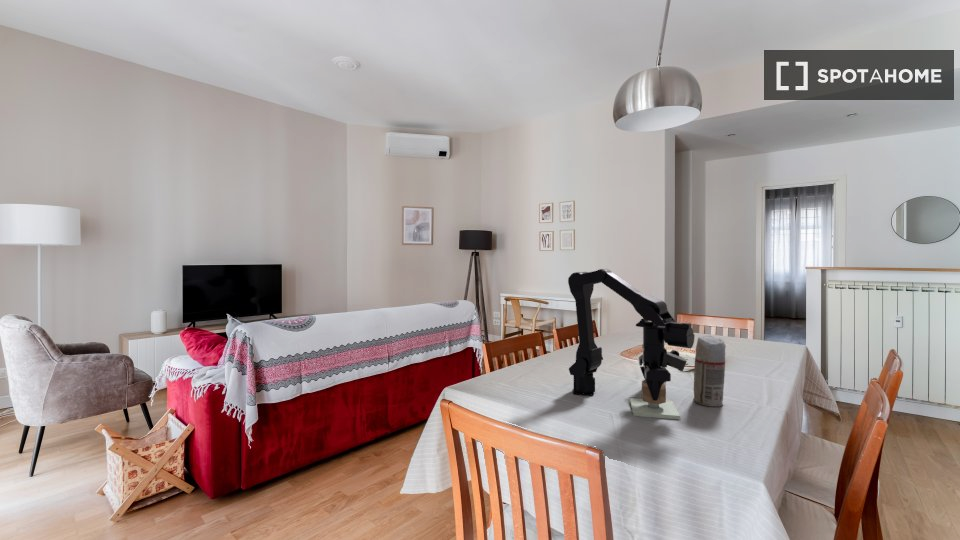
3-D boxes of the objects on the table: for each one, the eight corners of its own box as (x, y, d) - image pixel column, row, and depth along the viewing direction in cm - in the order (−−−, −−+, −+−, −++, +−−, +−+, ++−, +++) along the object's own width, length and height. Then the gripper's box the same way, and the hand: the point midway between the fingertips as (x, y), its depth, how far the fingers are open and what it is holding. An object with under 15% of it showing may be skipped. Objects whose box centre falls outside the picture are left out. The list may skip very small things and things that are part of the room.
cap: (643, 402, 120) (643, 383, 120) (640, 395, 127) (640, 377, 126) (667, 404, 119) (667, 384, 119) (663, 397, 125) (663, 378, 125)
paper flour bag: (721, 399, 131) (722, 335, 130) (727, 408, 123) (728, 340, 122) (691, 397, 134) (691, 334, 133) (695, 405, 126) (695, 339, 125)
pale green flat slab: (633, 415, 119) (633, 399, 118) (629, 401, 130) (629, 386, 130) (680, 419, 116) (680, 403, 115) (672, 404, 127) (672, 389, 127)
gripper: (691, 351, 111) (691, 410, 112) (677, 338, 129) (676, 388, 130) (646, 349, 114) (646, 407, 115) (638, 336, 132) (638, 386, 133)
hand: (653, 396), depth 123 cm, fingers closed on cap, 6 cm apart
